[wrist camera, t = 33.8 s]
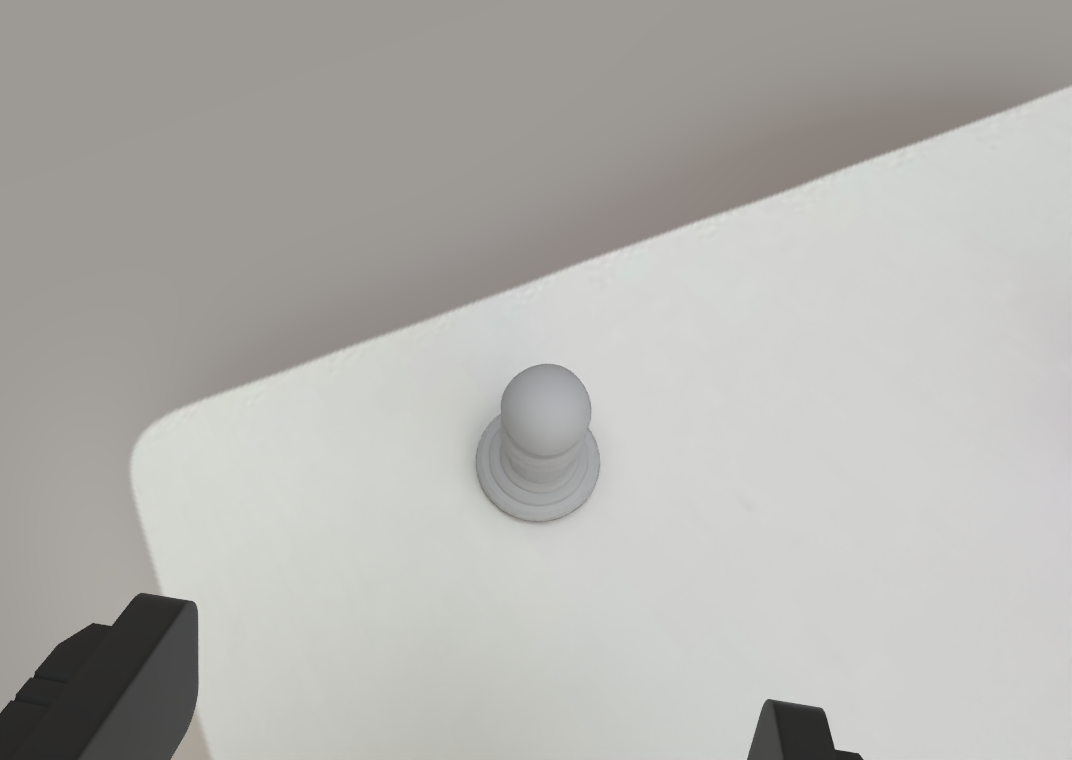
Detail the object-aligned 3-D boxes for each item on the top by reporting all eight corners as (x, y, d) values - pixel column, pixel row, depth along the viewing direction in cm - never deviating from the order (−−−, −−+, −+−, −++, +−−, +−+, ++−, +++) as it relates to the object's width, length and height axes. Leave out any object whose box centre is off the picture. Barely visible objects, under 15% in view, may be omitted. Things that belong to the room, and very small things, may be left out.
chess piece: (621, 488, 42) (650, 420, 34) (512, 546, 41) (514, 490, 33) (561, 386, 44) (574, 298, 36) (455, 439, 43) (443, 361, 35)
